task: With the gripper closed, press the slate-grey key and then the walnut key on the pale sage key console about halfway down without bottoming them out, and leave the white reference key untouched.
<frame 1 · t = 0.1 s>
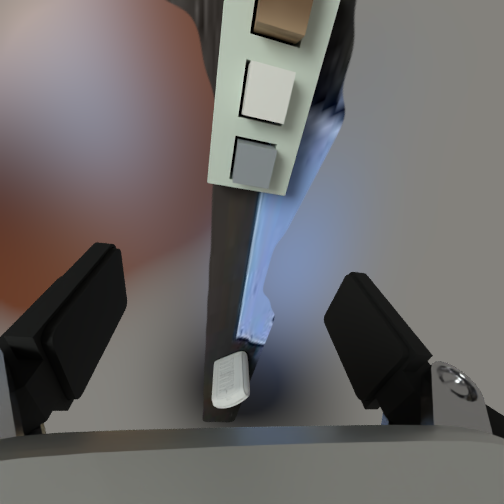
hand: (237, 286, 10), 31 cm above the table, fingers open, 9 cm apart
white key: (266, 94, 27), point 6 cm above the table, slide at 0.0 cm
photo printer: (230, 357, 66), on the table
walnut key: (284, 0, 23), point 6 cm above the table, slide at 0.0 cm
key console: (260, 96, 32), on the table
slate key: (253, 163, 31), point 6 cm above the table, slide at 0.0 cm
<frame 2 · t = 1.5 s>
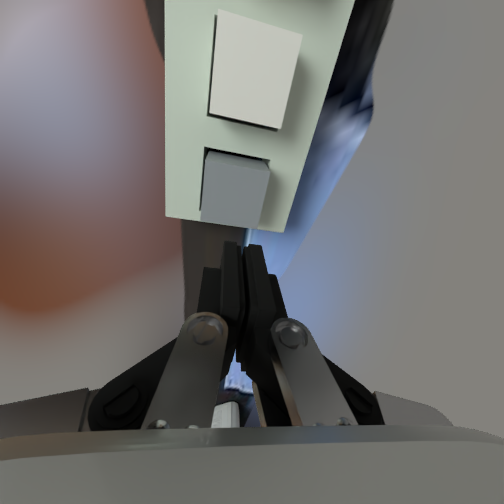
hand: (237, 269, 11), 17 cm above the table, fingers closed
white key: (250, 79, 16), point 6 cm above the table, slide at 0.0 cm
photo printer: (218, 407, 55), on the table
key console: (245, 84, 20), on the table
slate key: (233, 190, 20), point 6 cm above the table, slide at 0.0 cm
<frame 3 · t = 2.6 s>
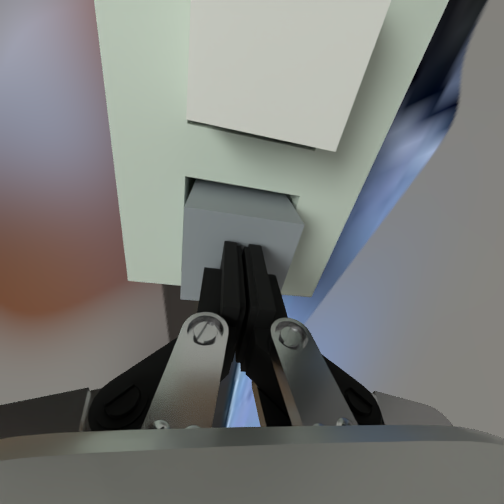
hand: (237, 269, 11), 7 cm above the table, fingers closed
white key: (274, 48, 8), point 6 cm above the table, slide at 0.0 cm
key console: (257, 69, 12), on the table
slate key: (236, 243, 12), point 5 cm above the table, slide at 0.4 cm, touching gripper
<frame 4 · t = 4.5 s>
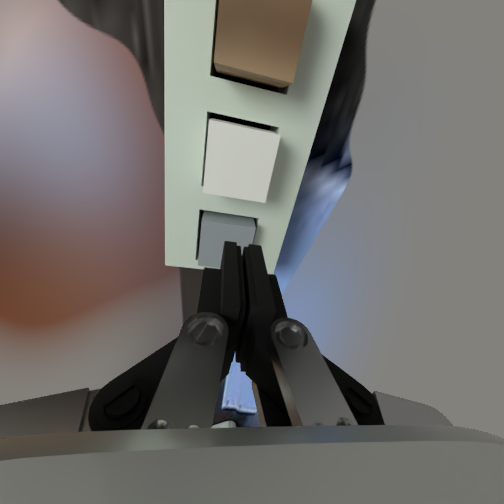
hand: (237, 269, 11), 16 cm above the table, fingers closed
white key: (238, 160, 18), point 6 cm above the table, slide at 0.0 cm
walnut key: (259, 28, 14), point 6 cm above the table, slide at 0.0 cm
key console: (236, 150, 23), on the table
slate key: (225, 238, 24), point 4 cm above the table, slide at 1.5 cm
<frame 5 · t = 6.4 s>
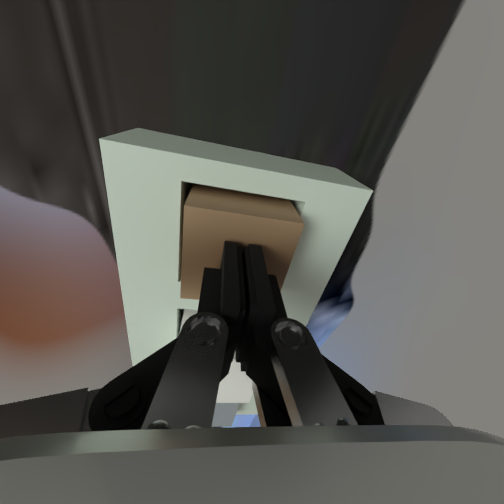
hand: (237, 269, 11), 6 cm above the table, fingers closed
white key: (217, 353, 15), point 6 cm above the table, slide at 0.0 cm
walnut key: (236, 242, 12), point 4 cm above the table, slide at 1.3 cm, touching gripper
key console: (220, 295, 20), on the table
slate key: (208, 389, 21), point 4 cm above the table, slide at 1.5 cm
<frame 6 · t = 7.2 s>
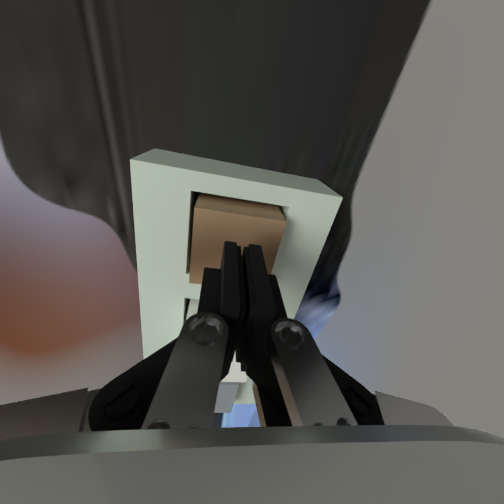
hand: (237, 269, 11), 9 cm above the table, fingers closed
white key: (218, 338, 18), point 6 cm above the table, slide at 0.0 cm
walnut key: (234, 238, 15), point 4 cm above the table, slide at 1.6 cm
key console: (220, 291, 22), on the table
slate key: (209, 378, 23), point 4 cm above the table, slide at 1.5 cm
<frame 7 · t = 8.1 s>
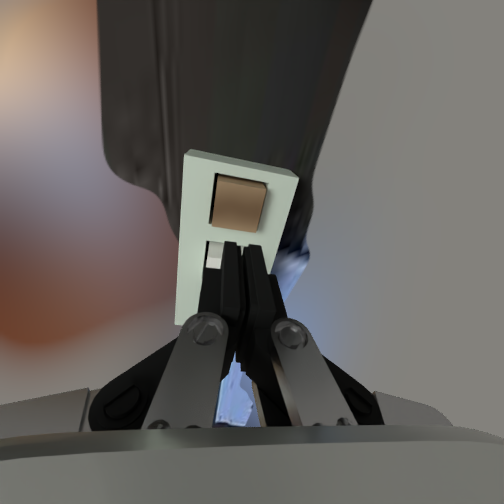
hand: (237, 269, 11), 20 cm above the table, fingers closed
white key: (226, 268, 28), point 6 cm above the table, slide at 0.0 cm
walnut key: (237, 202, 26), point 4 cm above the table, slide at 1.6 cm
key console: (226, 246, 33), on the table
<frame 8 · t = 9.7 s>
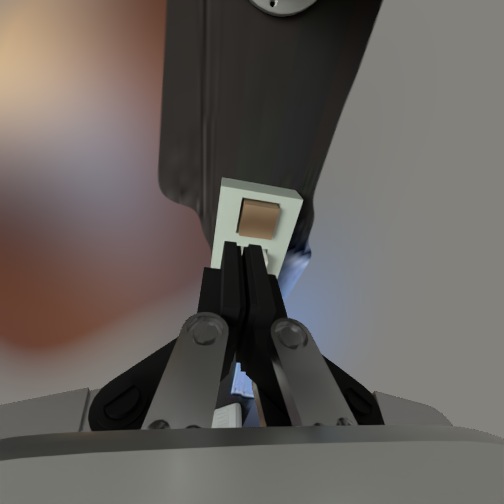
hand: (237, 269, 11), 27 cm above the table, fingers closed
white key: (248, 265, 37), point 6 cm above the table, slide at 0.0 cm
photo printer: (226, 407, 76), on the table
walnut key: (257, 217, 34), point 4 cm above the table, slide at 1.6 cm
key console: (246, 247, 42), on the table
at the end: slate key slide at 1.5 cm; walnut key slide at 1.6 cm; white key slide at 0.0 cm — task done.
